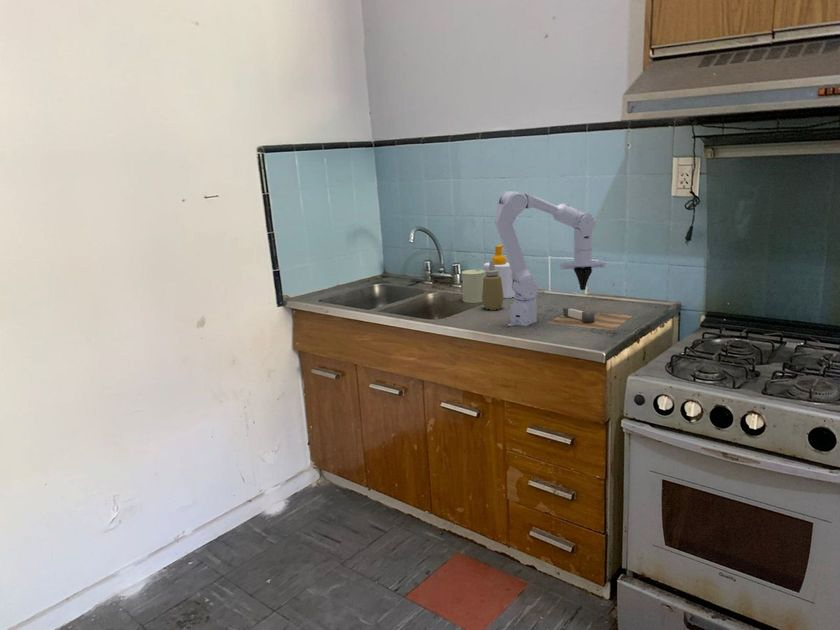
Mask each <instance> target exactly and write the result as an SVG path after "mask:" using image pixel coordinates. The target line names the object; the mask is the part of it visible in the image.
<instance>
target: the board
mask: <svg viewBox="0 0 840 630" xmlns="http://www.w3.org/2000/svg"><path fill="white" fill-rule="evenodd" d="M594 312H595V311H594ZM632 317H633V315H626V314H617V313H605V312H595V321H594V322H592V323H585V322H582V320H581V319H577V318H573V317H569V316H565V315H563V313H562V314H561V315H558V316H557V317H554V318H553V319H551V320H550V321H548V322H547V324H551V325H552V324H553V325H561V326H570V327H571V326H572V327H579V328H580V327H581V328H589V329H598V330H599V329H600V330H607V331H615V330H616V329H617V328H619V327H620V326H621V325H622V324H624V323H626V322H627V321H628V320H630V319H631V318H632Z"/></svg>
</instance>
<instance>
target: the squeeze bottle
mask: <svg viewBox="0 0 840 630" xmlns="http://www.w3.org/2000/svg"><path fill="white" fill-rule="evenodd" d="M489 263H490V265H489V270H486V275H487V276H485V277H484V278H483V292H482V301H483V302H482V304H483V306H484V309H485V308H486V309H485V310H488V309H490V310H489V311H497V310H501V309H500V308H502V305H503V302H504V299H505V298H504V296H503V288H502V280H501V277H500V276H499V275H498V274H499V273H498V270H496V269H495V265H494V261H493V260H492V259H491V260H490V261H489ZM496 309H497V310H496Z"/></svg>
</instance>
